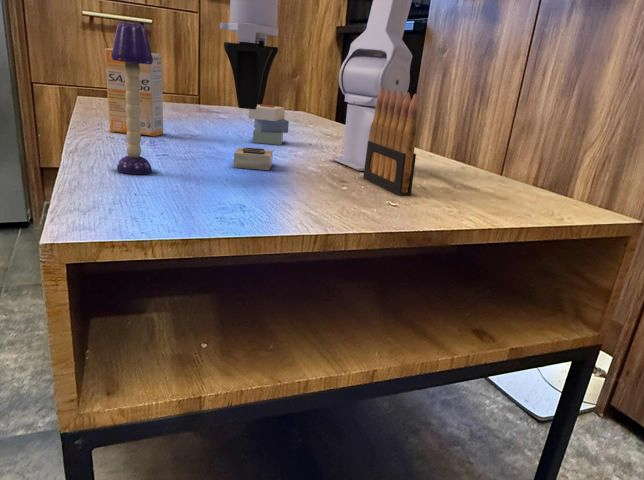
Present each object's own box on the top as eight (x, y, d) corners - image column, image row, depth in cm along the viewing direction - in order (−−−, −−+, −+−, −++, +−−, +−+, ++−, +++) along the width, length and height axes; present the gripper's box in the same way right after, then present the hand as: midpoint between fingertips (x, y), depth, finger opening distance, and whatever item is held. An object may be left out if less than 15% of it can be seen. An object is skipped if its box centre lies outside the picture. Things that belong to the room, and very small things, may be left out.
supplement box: (108, 132, 104) (102, 47, 98) (121, 129, 108) (116, 48, 102) (153, 137, 103) (150, 52, 97) (164, 134, 107) (162, 52, 101)
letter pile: (286, 146, 106) (288, 108, 103) (247, 142, 106) (248, 105, 103) (288, 141, 112) (290, 105, 110) (251, 137, 112) (252, 102, 109)
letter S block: (269, 170, 84) (269, 154, 83) (233, 167, 84) (234, 150, 83) (272, 164, 89) (272, 148, 88) (238, 161, 88) (238, 145, 87)
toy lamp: (149, 167, 79) (143, 24, 71) (162, 174, 76) (157, 25, 68) (113, 168, 76) (102, 20, 69) (124, 175, 73) (114, 21, 66)
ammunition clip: (362, 177, 85) (373, 86, 80) (374, 177, 86) (385, 87, 80) (398, 195, 76) (412, 93, 71) (411, 195, 77) (426, 94, 72)
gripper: (229, -14, 78) (228, 99, 84) (210, -27, 65) (210, 107, 71) (284, -8, 78) (278, 104, 84) (275, -21, 65) (269, 113, 71)
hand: (251, 106), depth 77 cm, fingers open, 7 cm apart
